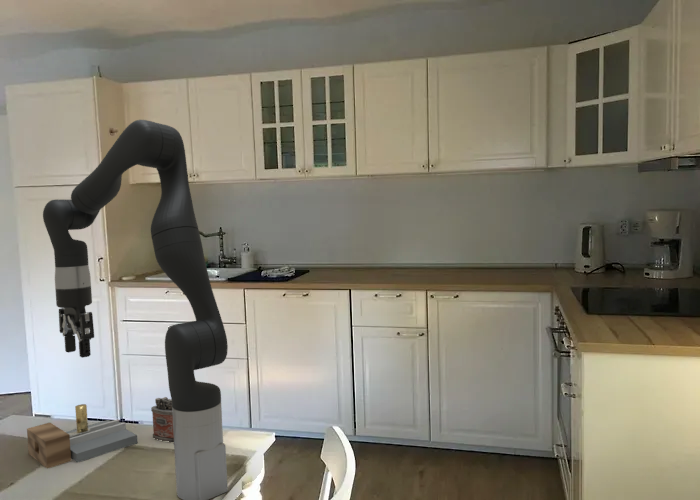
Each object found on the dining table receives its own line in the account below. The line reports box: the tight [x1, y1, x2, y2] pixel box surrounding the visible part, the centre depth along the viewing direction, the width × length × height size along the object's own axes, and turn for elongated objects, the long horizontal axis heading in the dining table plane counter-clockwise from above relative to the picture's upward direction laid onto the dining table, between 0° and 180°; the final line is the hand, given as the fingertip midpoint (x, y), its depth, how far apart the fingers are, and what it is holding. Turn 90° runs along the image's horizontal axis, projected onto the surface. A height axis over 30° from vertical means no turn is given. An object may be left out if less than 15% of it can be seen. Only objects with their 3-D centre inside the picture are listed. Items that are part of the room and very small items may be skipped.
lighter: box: [150, 396, 174, 443], centre depth 140 cm, size 8×3×10 cm, turn 62°
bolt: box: [69, 403, 91, 438], centre depth 134 cm, size 2×9×8 cm, turn 136°
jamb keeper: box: [26, 422, 72, 469], centre depth 131 cm, size 12×5×6 cm, turn 46°
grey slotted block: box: [65, 419, 139, 463], centre depth 139 cm, size 16×14×4 cm
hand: (77, 354), depth 136 cm, fingers open, 8 cm apart
